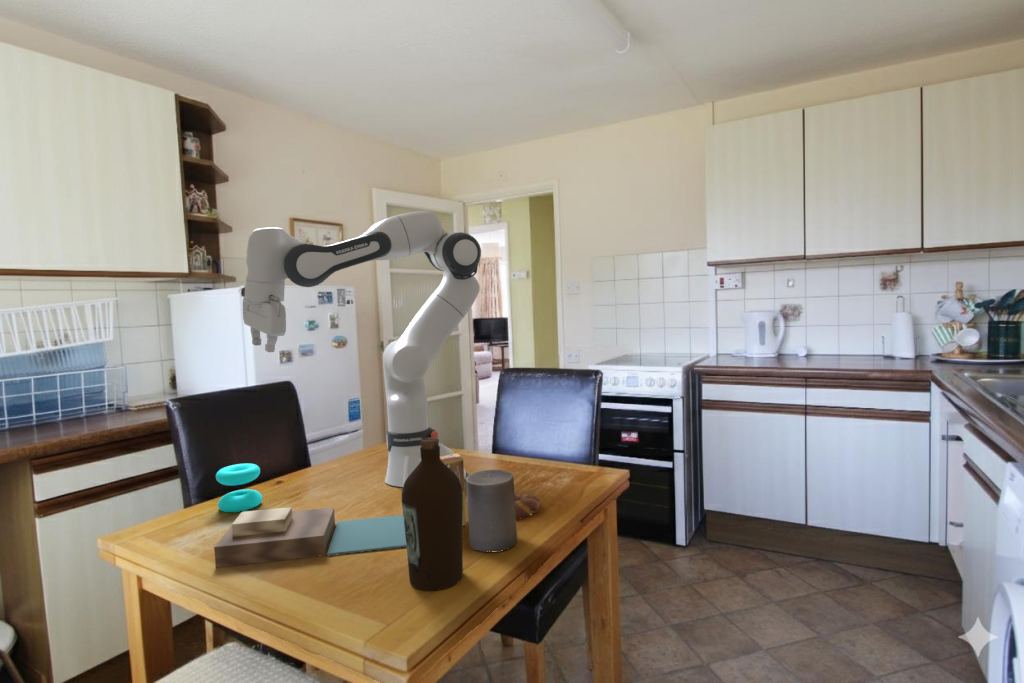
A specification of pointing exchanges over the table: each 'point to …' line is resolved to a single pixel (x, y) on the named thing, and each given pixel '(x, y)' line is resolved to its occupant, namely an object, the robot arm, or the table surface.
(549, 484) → the table surface
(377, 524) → the teal mat
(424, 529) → the olive oil
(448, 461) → the candy box
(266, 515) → the cream block
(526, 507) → the pretzel
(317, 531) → the walnut board
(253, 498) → the donuts
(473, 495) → the pillar candle
